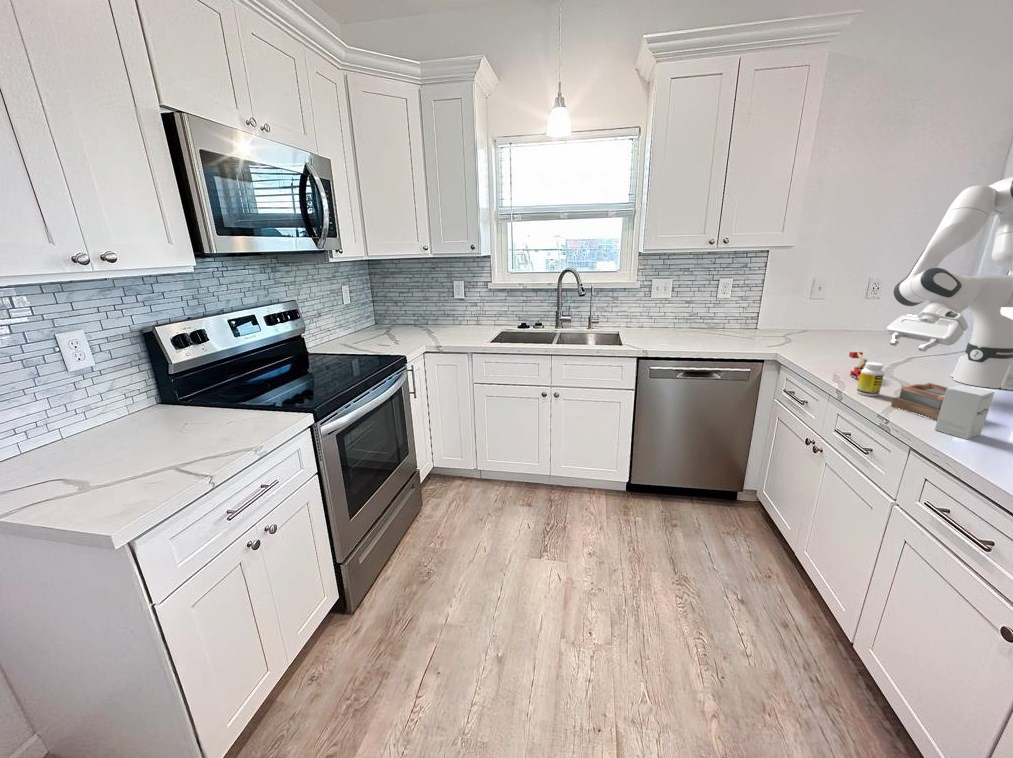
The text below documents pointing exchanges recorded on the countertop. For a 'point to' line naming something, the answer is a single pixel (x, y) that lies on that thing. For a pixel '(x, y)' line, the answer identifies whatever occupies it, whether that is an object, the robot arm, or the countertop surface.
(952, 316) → the robot arm
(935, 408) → the wooden tray
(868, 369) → the pill bottle
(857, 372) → the toy fire truck
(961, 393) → the supplement box
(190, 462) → the countertop surface
